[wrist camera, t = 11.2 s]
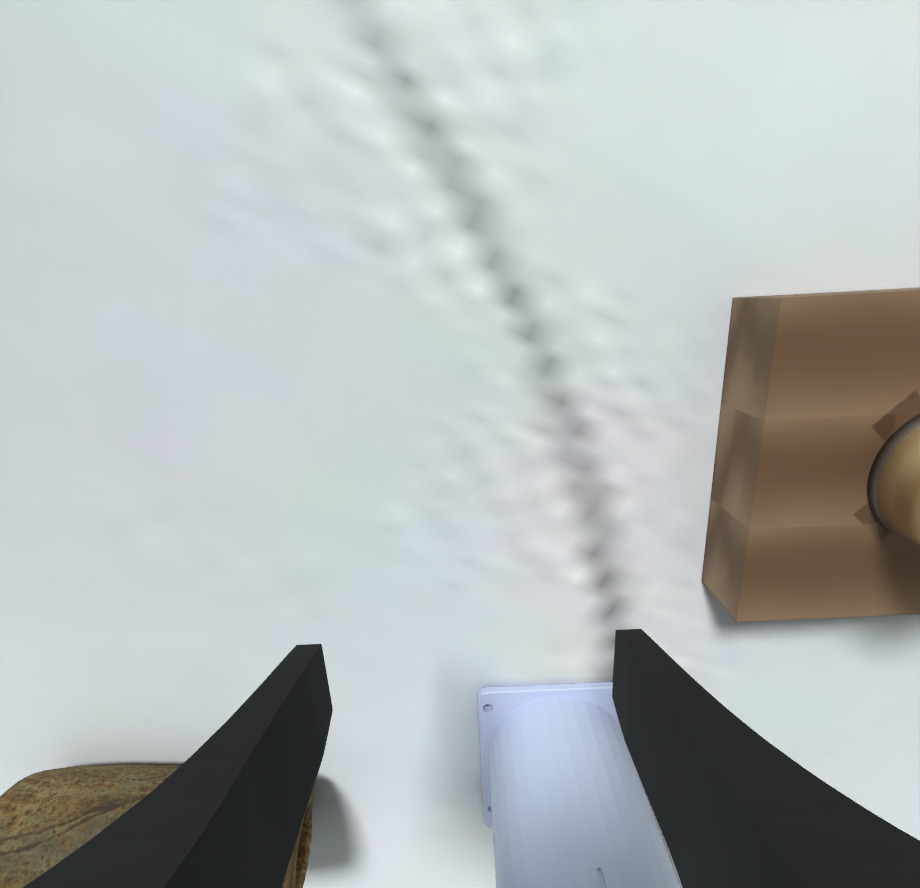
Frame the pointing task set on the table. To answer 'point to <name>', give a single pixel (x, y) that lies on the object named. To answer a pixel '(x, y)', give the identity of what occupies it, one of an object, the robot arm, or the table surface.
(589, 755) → the robot arm
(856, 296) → the board
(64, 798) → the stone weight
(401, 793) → the table surface
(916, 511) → the peg
